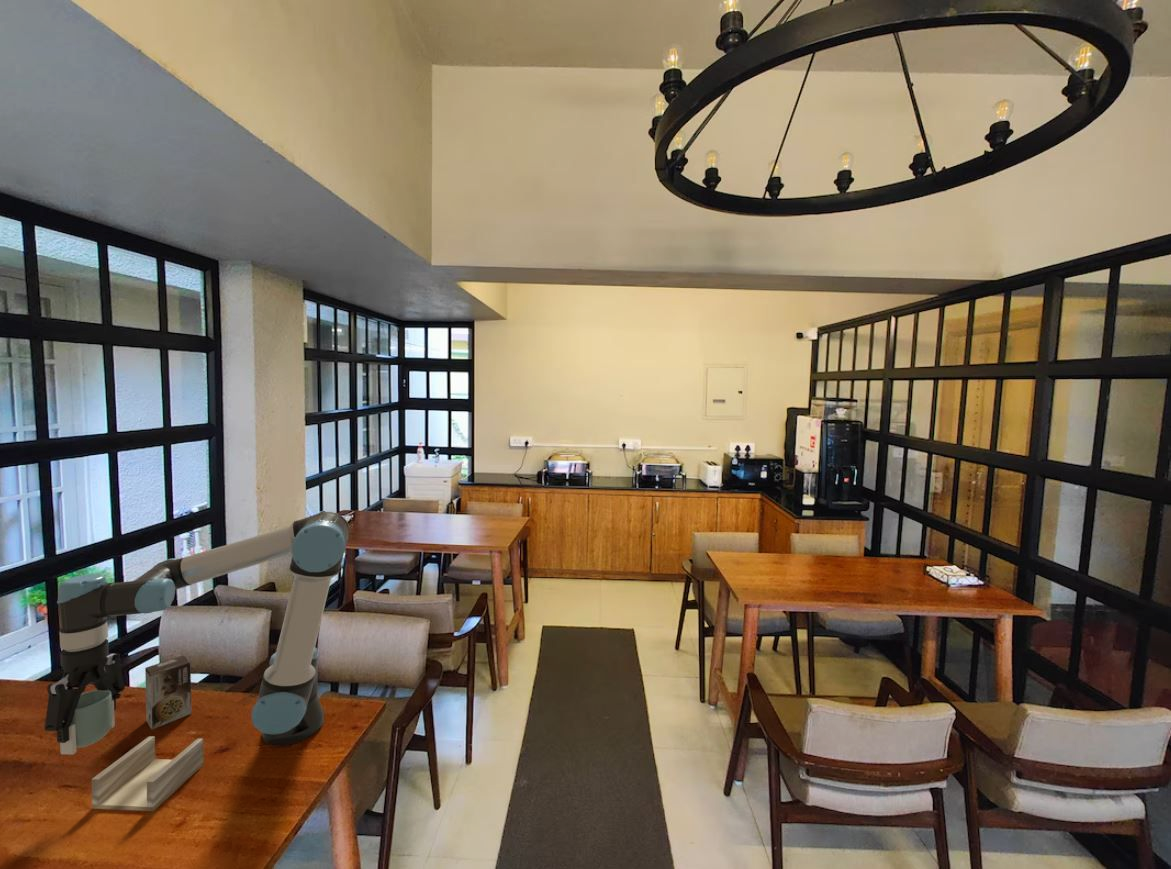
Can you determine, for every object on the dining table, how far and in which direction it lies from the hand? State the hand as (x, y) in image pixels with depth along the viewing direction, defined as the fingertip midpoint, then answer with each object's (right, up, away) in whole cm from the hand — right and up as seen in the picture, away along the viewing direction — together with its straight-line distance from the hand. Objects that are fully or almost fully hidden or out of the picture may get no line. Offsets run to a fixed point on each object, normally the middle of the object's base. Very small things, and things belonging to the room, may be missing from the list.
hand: (88, 739), depth 109 cm
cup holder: (+9, -15, +6) cm, 18 cm away
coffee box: (-8, -13, +29) cm, 33 cm away
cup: (0, -1, 0) cm, 1 cm away
